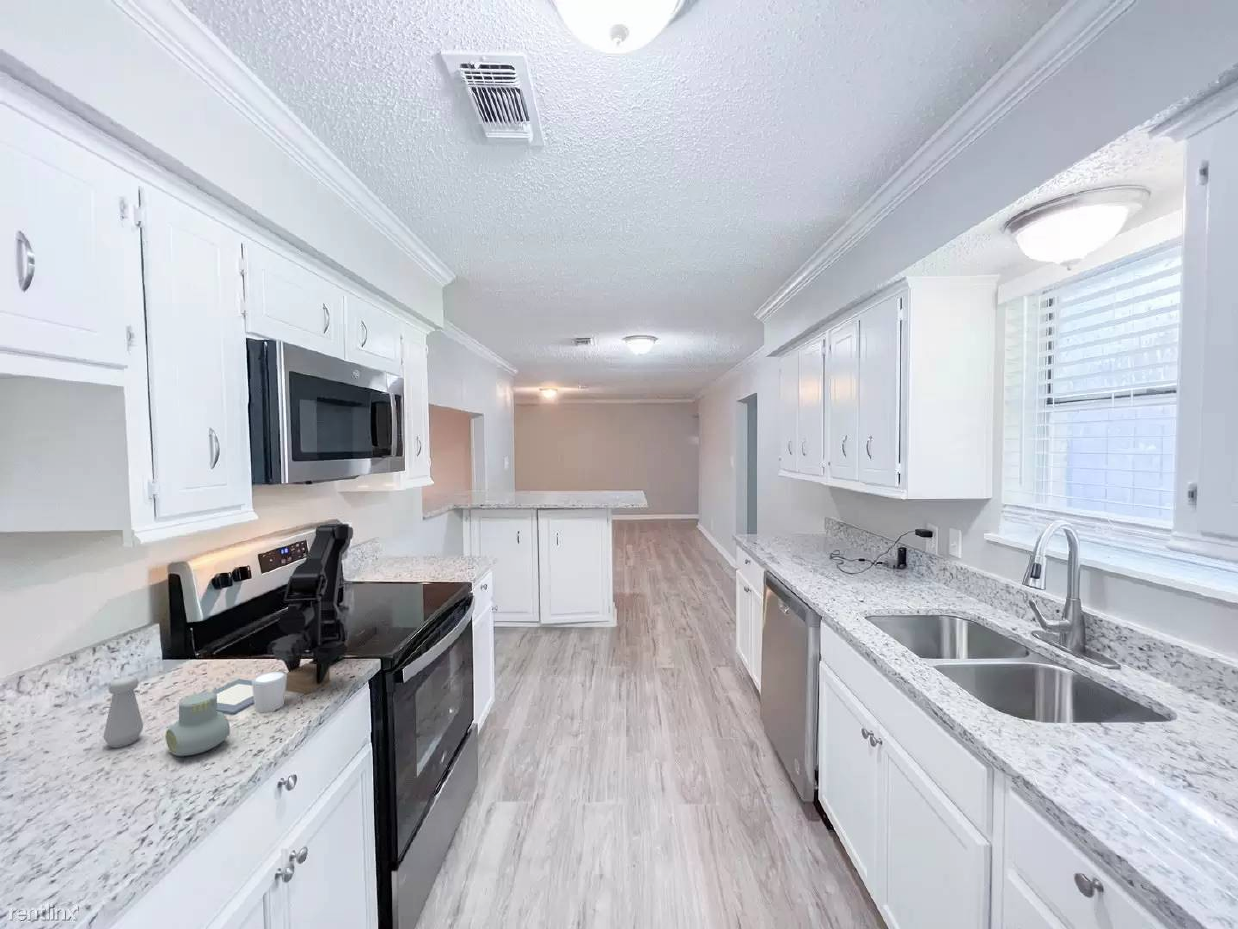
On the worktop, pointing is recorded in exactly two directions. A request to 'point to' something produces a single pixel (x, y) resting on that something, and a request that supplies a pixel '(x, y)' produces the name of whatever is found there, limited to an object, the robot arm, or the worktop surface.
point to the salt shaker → (123, 713)
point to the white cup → (269, 690)
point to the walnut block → (305, 679)
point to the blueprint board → (234, 696)
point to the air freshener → (197, 725)
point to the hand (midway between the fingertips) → (307, 681)
